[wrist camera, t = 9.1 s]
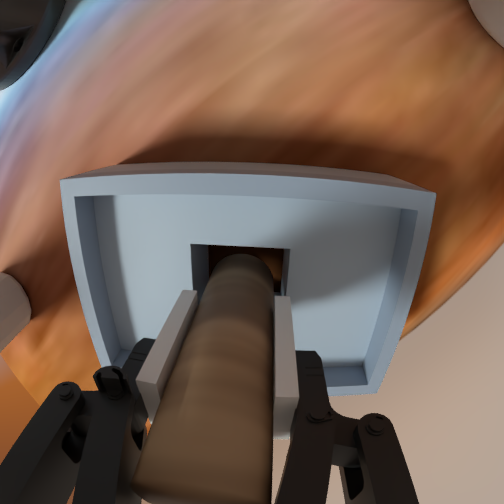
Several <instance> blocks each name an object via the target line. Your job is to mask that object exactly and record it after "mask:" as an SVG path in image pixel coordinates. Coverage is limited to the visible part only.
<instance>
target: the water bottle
mask: <svg viewBox="0 0 504 504" xmlns="http://www.w3.org/2000/svg"><path fill="white" fill-rule="evenodd" d="M30 316H31V307H30V303H29V299H28V297H27V295H26V293H25V292H24V290H23V288H22V286H21V285H20V284H19V283H18V282H17V281H16V280H15V279H14V278H13V277H12V276H10V275H8V274H5V273H1V272H0V352H1V351H2V350H3V349H4V348H5V347H6V346H7V345H8V344H9V343H10V342H11V341H12V340H13V339H14V337H15V336H16V335H17V334H18V333H19V332H20V331H21V330H22V329H23V328H24V327H25V326H26V325H27V324H28V323H29V322H30Z"/></svg>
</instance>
